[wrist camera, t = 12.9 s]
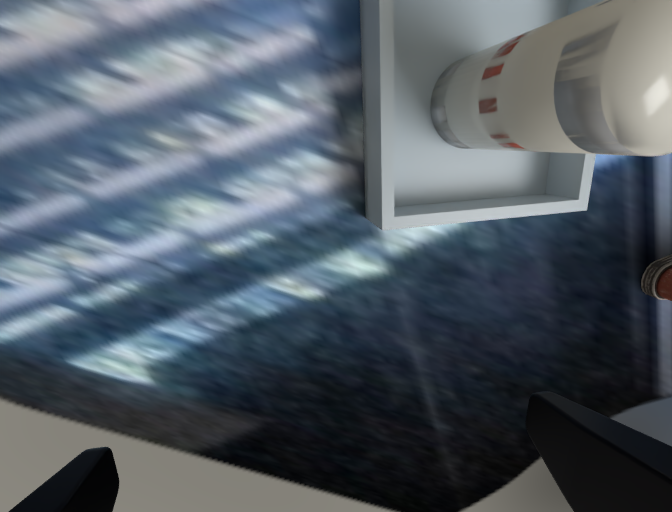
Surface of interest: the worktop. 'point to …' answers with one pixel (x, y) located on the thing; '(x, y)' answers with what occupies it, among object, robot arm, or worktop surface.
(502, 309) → the worktop surface
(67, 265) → the worktop surface
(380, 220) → the tray
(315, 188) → the worktop surface
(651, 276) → the lighter
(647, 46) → the white domed canister
